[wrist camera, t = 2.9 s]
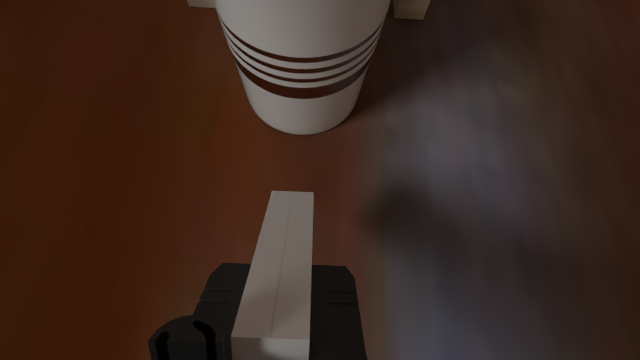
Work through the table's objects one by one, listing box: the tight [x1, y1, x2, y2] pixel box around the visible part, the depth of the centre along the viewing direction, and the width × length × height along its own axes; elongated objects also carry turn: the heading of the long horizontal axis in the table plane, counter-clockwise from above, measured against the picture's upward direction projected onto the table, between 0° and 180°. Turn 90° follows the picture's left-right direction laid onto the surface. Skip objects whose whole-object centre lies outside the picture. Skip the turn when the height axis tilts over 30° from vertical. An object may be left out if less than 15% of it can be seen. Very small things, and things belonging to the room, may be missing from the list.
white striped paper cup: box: [213, 0, 391, 135], centre depth 16 cm, size 10×8×12 cm
